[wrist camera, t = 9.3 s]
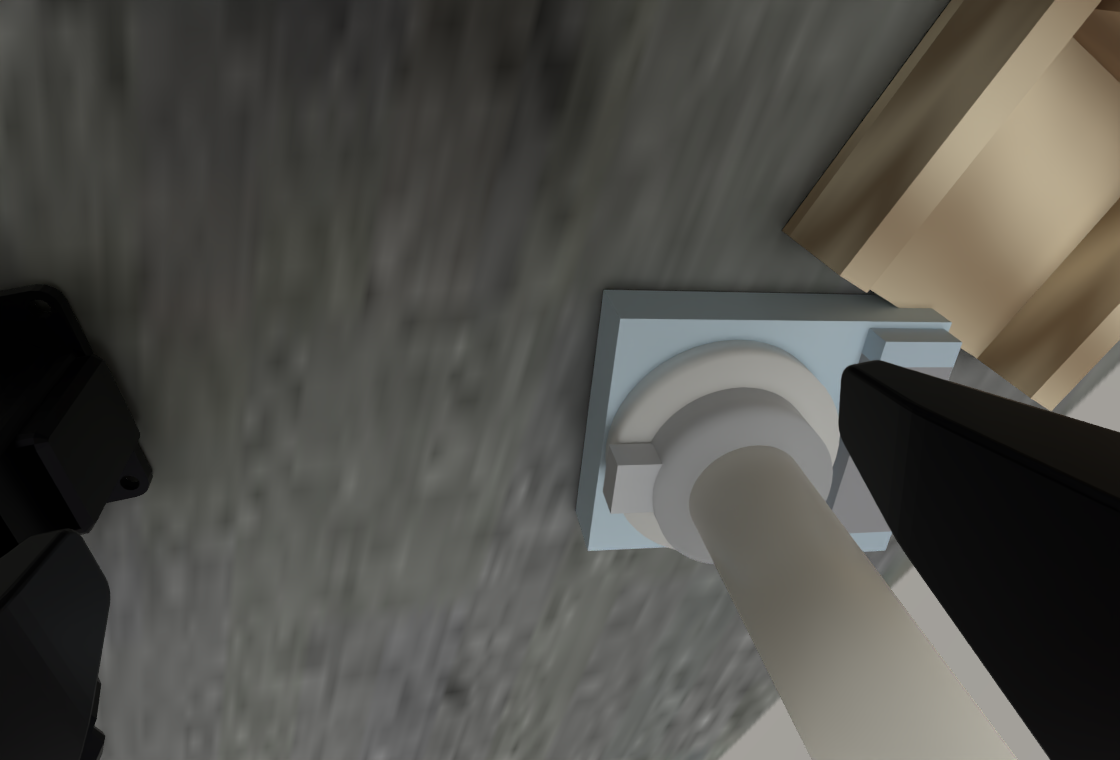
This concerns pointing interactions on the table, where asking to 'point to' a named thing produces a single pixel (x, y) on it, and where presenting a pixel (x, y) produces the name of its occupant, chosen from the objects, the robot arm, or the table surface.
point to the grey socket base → (742, 381)
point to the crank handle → (799, 580)
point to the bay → (988, 192)
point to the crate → (1103, 35)
